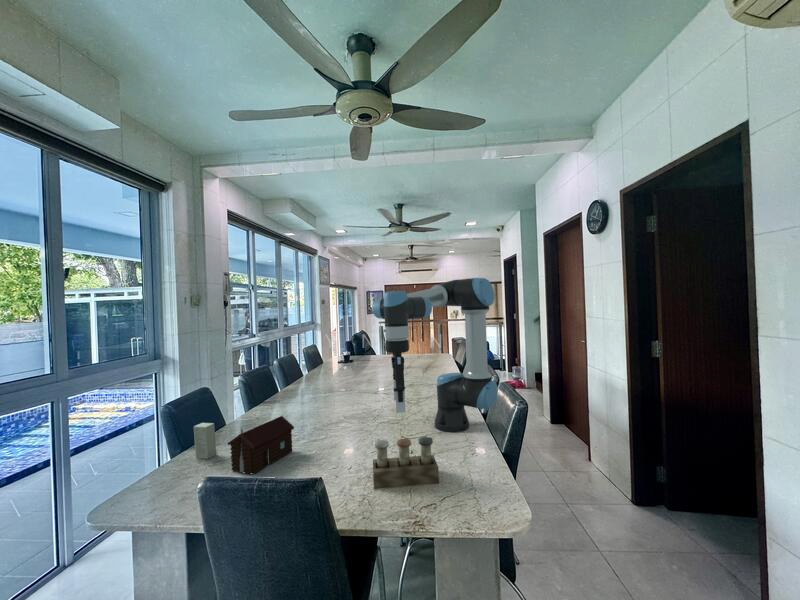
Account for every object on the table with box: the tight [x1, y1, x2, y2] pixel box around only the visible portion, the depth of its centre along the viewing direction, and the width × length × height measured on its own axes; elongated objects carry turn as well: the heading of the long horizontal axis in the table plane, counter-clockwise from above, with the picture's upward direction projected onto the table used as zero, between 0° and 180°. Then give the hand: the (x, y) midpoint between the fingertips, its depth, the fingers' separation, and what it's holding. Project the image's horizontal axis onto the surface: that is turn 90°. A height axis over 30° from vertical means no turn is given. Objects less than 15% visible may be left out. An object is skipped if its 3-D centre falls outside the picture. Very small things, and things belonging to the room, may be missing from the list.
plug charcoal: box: [418, 436, 433, 465], centre depth 116 cm, size 4×4×8 cm
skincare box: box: [193, 422, 217, 460], centre depth 139 cm, size 6×4×12 cm
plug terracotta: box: [396, 438, 412, 467], centre depth 115 cm, size 4×4×8 cm
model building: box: [227, 415, 295, 474], centre depth 133 cm, size 21×12×15 cm, turn 156°
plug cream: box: [374, 439, 390, 468], centre depth 115 cm, size 4×4×8 cm
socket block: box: [372, 454, 440, 490], centre depth 115 cm, size 20×9×5 cm, turn 95°
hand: (399, 405), depth 116 cm, fingers open, 13 cm apart
